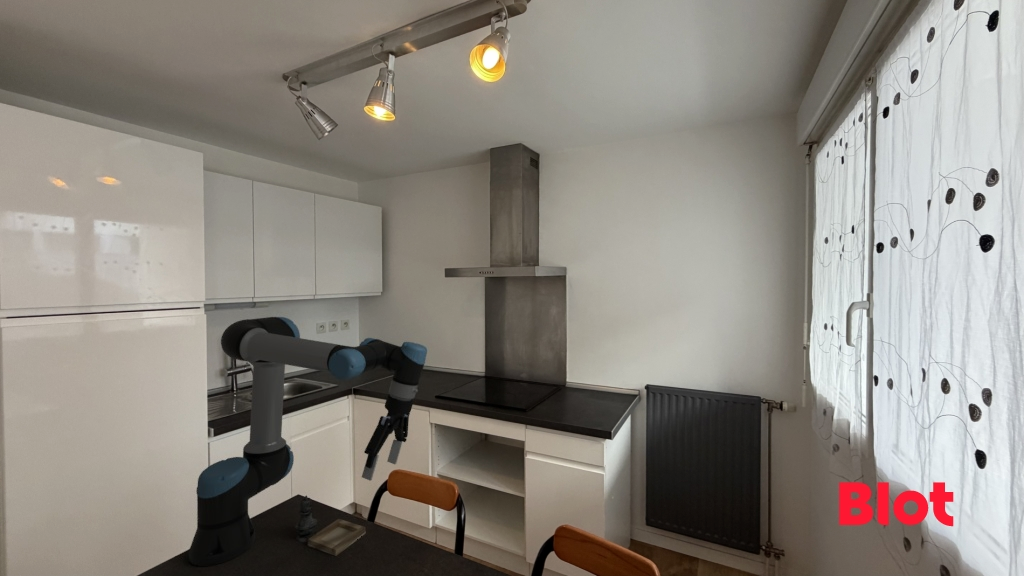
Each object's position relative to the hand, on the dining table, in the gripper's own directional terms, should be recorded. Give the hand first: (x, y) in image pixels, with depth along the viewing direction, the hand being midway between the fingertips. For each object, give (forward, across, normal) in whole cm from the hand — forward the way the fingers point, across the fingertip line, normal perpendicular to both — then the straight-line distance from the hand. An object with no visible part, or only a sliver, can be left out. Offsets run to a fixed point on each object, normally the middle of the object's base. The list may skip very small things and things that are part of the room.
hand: (379, 470), depth 110 cm
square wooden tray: (+25, +4, +9) cm, 27 cm away
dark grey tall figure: (+28, +4, +19) cm, 34 cm away
